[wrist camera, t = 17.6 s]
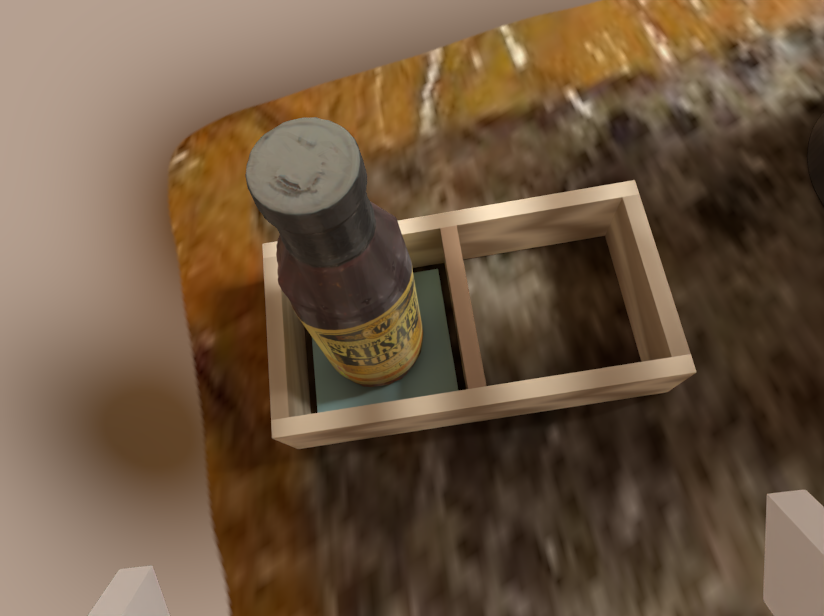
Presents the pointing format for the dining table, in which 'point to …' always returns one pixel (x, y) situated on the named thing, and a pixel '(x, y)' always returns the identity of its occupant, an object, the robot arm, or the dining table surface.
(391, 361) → the sauce bottle
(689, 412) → the dining table surface
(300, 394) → the birch caddy
